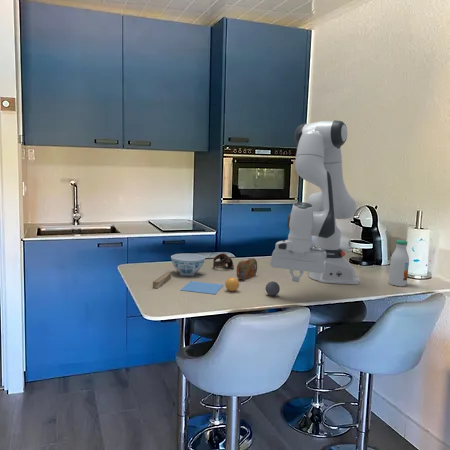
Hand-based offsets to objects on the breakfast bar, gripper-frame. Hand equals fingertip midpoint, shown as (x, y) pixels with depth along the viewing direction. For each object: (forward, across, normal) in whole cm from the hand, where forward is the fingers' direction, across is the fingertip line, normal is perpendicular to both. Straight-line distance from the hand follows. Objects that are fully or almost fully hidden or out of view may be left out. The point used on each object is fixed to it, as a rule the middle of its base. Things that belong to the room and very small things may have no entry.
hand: (295, 281), depth 173 cm
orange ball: (+4, +24, 0) cm, 25 cm away
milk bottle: (+5, -43, -40) cm, 59 cm away
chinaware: (+8, +49, -19) cm, 53 cm away
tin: (+7, +23, -23) cm, 33 cm away
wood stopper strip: (+8, +53, 0) cm, 54 cm away
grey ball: (+4, +8, 0) cm, 9 cm away
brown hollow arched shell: (+7, +37, -37) cm, 52 cm away
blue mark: (+7, +36, 0) cm, 37 cm away
